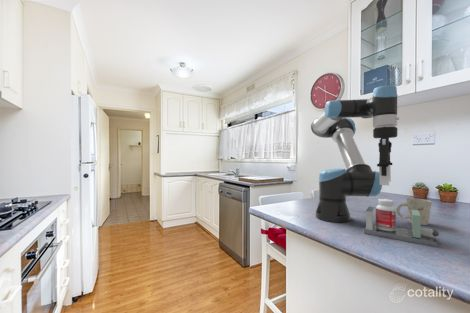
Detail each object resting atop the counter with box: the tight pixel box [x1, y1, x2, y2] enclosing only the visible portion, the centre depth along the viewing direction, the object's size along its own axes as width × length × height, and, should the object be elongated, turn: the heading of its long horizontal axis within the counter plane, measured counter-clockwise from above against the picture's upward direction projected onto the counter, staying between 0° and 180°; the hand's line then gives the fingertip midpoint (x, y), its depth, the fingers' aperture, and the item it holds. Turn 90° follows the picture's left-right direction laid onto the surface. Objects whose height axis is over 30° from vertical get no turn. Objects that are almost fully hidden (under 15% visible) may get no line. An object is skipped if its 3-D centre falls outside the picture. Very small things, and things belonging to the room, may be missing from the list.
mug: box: [395, 197, 432, 226], centre depth 92 cm, size 8×13×10 cm, turn 78°
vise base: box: [364, 206, 438, 248], centre depth 78 cm, size 20×10×8 cm, turn 52°
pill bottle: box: [375, 198, 397, 232], centre depth 80 cm, size 6×6×11 cm
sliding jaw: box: [411, 210, 440, 238], centre depth 73 cm, size 7×9×8 cm
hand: (385, 183), depth 80 cm, fingers open, 13 cm apart
